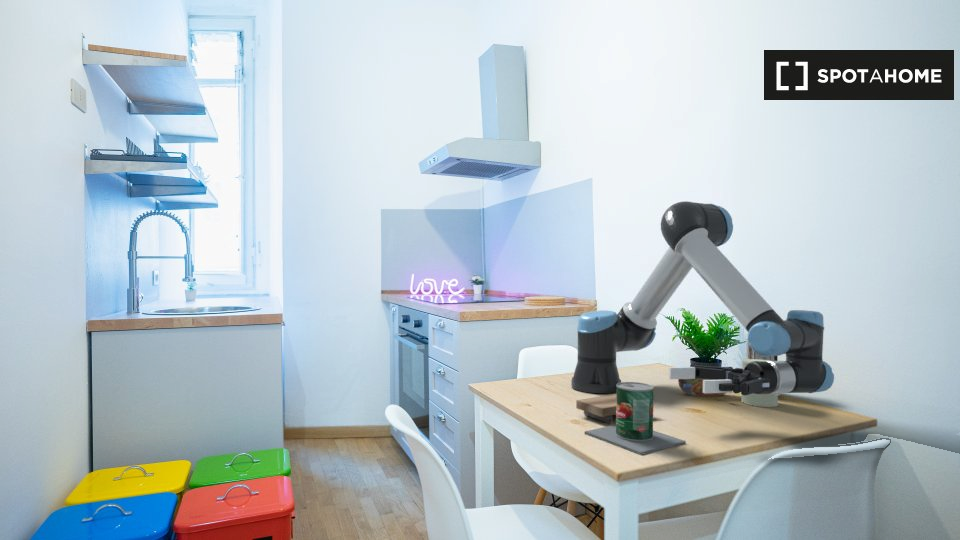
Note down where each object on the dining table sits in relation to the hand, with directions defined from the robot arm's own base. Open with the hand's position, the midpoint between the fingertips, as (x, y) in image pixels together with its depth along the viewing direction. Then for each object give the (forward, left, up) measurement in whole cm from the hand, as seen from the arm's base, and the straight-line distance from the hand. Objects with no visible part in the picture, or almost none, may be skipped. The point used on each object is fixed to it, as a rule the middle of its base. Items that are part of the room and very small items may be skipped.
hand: (685, 379), depth 125 cm
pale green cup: (-7, +42, -12) cm, 44 cm away
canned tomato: (-3, -13, -12) cm, 18 cm away
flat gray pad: (-3, -13, -12) cm, 18 cm away
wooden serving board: (-18, -4, -12) cm, 22 cm away
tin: (-21, +37, -12) cm, 44 cm away
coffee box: (-13, +53, -12) cm, 56 cm away
